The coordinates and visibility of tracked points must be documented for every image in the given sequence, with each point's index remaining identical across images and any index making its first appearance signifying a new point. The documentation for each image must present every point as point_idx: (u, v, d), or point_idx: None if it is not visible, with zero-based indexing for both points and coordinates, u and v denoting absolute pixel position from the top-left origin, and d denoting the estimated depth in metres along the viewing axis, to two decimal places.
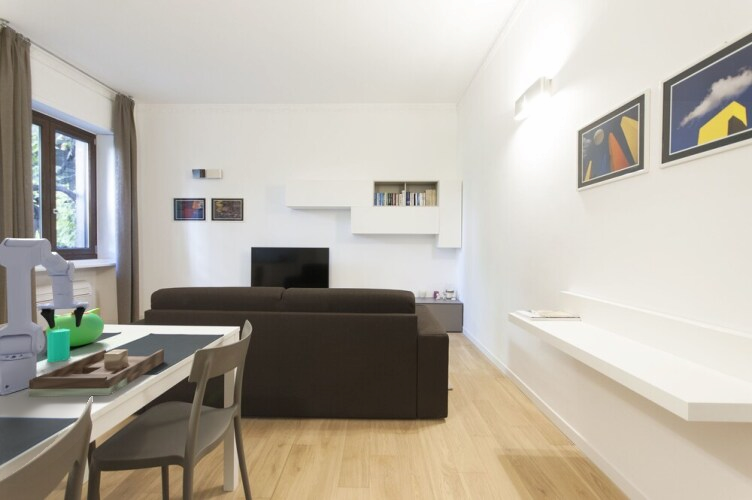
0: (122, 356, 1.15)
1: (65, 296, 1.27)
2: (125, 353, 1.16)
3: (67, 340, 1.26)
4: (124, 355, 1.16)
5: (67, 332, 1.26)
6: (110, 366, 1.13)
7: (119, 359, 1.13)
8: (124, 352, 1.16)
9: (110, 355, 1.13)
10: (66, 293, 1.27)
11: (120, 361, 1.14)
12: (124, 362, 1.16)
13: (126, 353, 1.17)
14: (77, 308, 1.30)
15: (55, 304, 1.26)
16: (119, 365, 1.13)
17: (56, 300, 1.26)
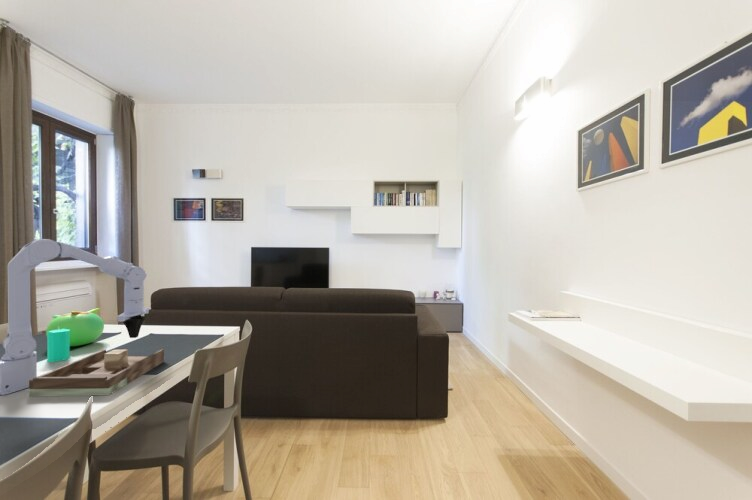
0: (122, 356, 1.15)
1: (124, 302, 1.22)
2: (125, 353, 1.16)
3: (67, 340, 1.26)
4: (124, 355, 1.16)
5: (67, 332, 1.26)
6: (110, 366, 1.13)
7: (119, 359, 1.13)
8: (124, 352, 1.16)
9: (110, 355, 1.13)
10: (128, 300, 1.21)
11: (120, 361, 1.14)
12: (124, 362, 1.16)
13: (126, 353, 1.17)
14: None
15: None
16: (119, 365, 1.13)
17: None
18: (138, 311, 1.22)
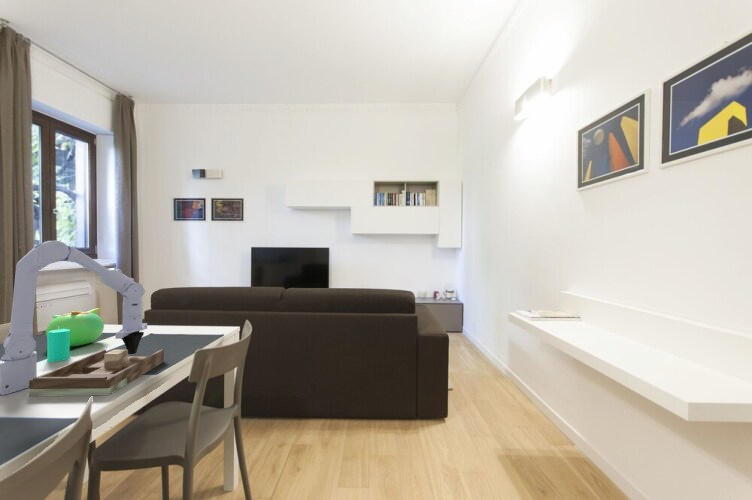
0: (122, 356, 1.15)
1: None
2: (125, 353, 1.16)
3: (67, 340, 1.26)
4: (124, 355, 1.16)
5: (67, 332, 1.26)
6: (110, 366, 1.13)
7: (119, 359, 1.13)
8: (124, 352, 1.16)
9: (110, 355, 1.13)
10: (126, 316, 1.20)
11: (120, 361, 1.14)
12: (124, 362, 1.16)
13: (126, 353, 1.17)
14: None
15: None
16: (119, 365, 1.13)
17: None
18: (136, 327, 1.22)
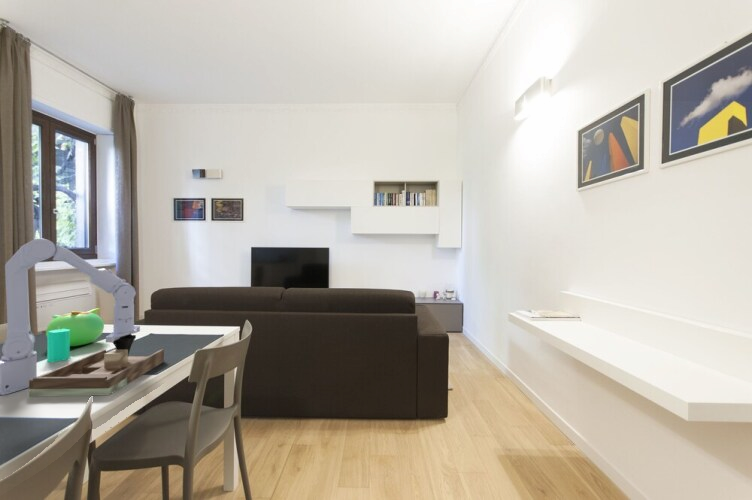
0: (122, 356, 1.15)
1: None
2: (125, 353, 1.16)
3: (67, 340, 1.26)
4: (124, 355, 1.16)
5: (67, 332, 1.26)
6: (110, 366, 1.13)
7: (119, 360, 1.13)
8: (124, 352, 1.15)
9: (110, 355, 1.13)
10: (116, 319, 1.16)
11: (120, 361, 1.14)
12: (124, 362, 1.16)
13: (126, 353, 1.17)
14: None
15: None
16: (119, 365, 1.13)
17: None
18: (128, 330, 1.17)
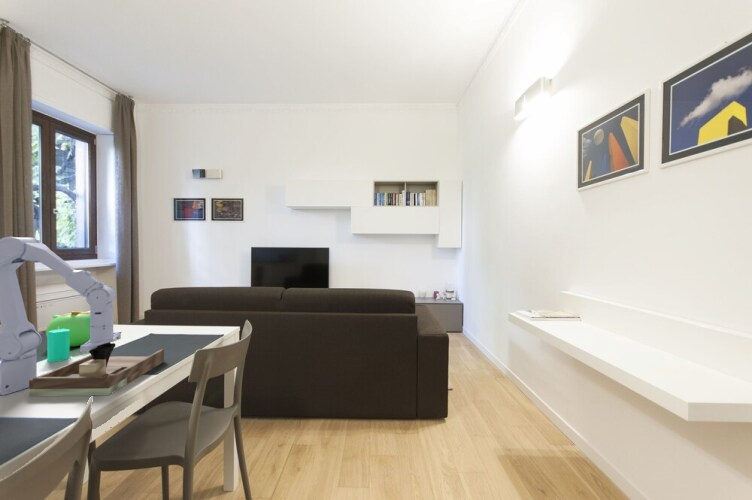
0: (99, 367, 1.04)
1: (90, 328, 1.06)
2: (103, 364, 1.06)
3: (67, 340, 1.26)
4: (102, 365, 1.05)
5: (67, 332, 1.26)
6: None
7: (96, 371, 1.03)
8: (102, 362, 1.05)
9: (86, 366, 1.02)
10: (90, 326, 1.06)
11: (97, 372, 1.03)
12: (102, 373, 1.05)
13: (104, 363, 1.06)
14: None
15: None
16: (95, 376, 1.03)
17: None
18: (106, 339, 1.07)
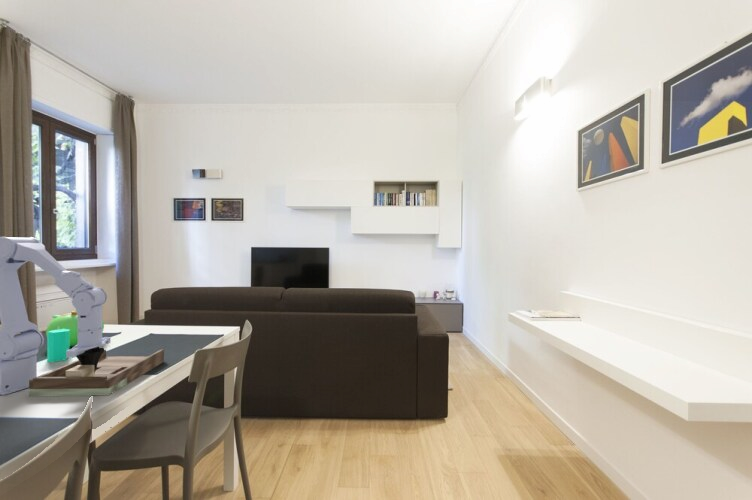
0: (87, 373, 1.00)
1: (77, 332, 1.02)
2: (91, 369, 1.01)
3: (67, 340, 1.26)
4: (90, 371, 1.01)
5: (67, 332, 1.26)
6: None
7: None
8: (89, 368, 1.00)
9: (72, 372, 0.97)
10: None
11: None
12: None
13: (93, 368, 1.02)
14: None
15: None
16: None
17: None
18: (94, 343, 1.02)
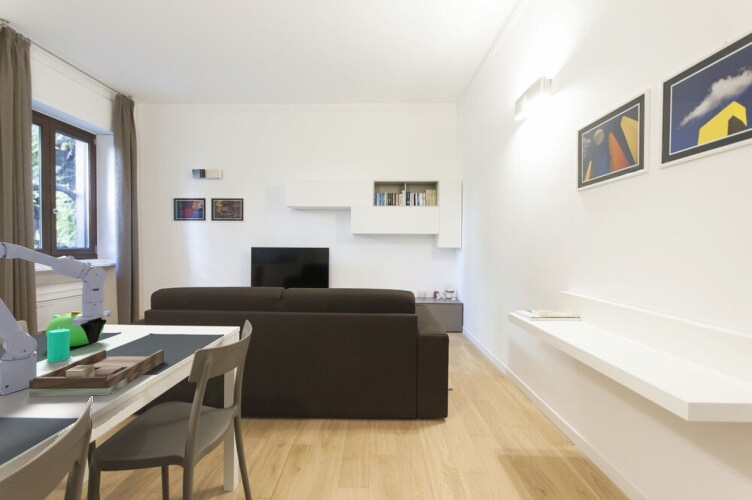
0: (87, 373, 1.00)
1: (82, 304, 1.14)
2: (91, 370, 1.01)
3: (67, 340, 1.26)
4: (90, 371, 1.01)
5: (67, 332, 1.26)
6: None
7: None
8: (90, 368, 1.00)
9: (72, 372, 0.97)
10: (86, 302, 1.12)
11: None
12: None
13: (93, 369, 1.02)
14: None
15: None
16: None
17: None
18: (97, 314, 1.14)
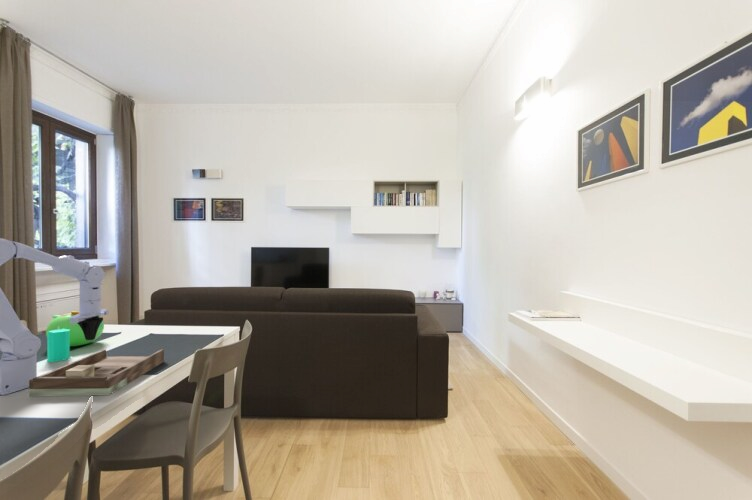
0: (87, 373, 1.00)
1: (79, 303, 1.17)
2: (91, 370, 1.01)
3: (67, 340, 1.26)
4: (90, 371, 1.01)
5: (67, 332, 1.26)
6: None
7: None
8: (90, 368, 1.00)
9: (72, 372, 0.97)
10: (85, 300, 1.15)
11: None
12: None
13: (93, 369, 1.02)
14: None
15: None
16: None
17: None
18: (94, 312, 1.17)
